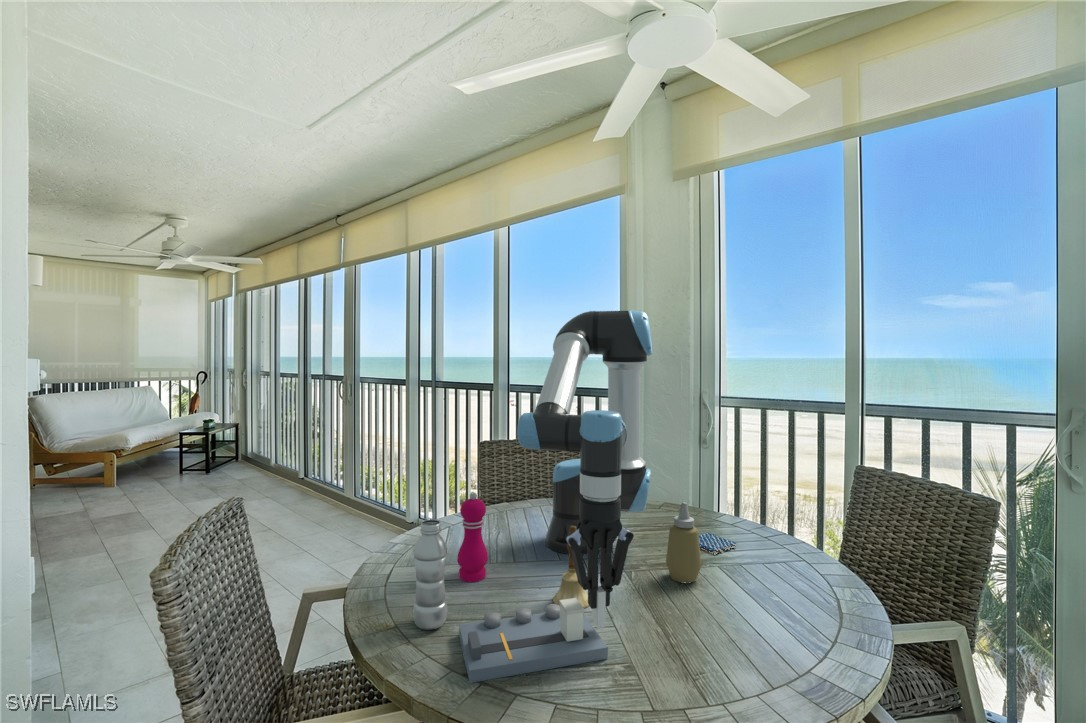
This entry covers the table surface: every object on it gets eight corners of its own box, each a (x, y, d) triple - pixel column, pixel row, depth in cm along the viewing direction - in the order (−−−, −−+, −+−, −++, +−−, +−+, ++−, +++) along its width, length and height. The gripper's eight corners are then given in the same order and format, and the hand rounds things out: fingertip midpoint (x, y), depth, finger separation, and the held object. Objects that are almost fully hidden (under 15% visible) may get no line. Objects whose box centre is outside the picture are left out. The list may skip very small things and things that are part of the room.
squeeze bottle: (707, 578, 118) (708, 503, 118) (691, 590, 112) (692, 510, 112) (675, 568, 123) (676, 496, 123) (659, 578, 117) (660, 503, 117)
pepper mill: (482, 584, 113) (483, 497, 113) (452, 581, 115) (453, 495, 114) (491, 571, 120) (492, 489, 120) (463, 568, 122) (464, 487, 122)
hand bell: (547, 594, 109) (548, 522, 109) (581, 589, 112) (582, 518, 112) (562, 613, 101) (562, 535, 101) (598, 606, 104) (599, 530, 104)
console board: (579, 617, 100) (579, 597, 100) (607, 658, 86) (608, 635, 86) (459, 635, 93) (459, 614, 93) (469, 683, 79) (469, 658, 79)
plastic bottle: (430, 638, 92) (431, 530, 91) (405, 627, 95) (405, 524, 95) (454, 622, 97) (455, 521, 97) (429, 612, 101) (430, 515, 100)
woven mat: (739, 549, 137) (739, 542, 137) (715, 558, 131) (715, 550, 131) (707, 537, 146) (707, 531, 146) (683, 545, 140) (683, 538, 140)
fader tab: (575, 626, 92) (575, 597, 92) (583, 639, 88) (583, 609, 88) (559, 629, 91) (559, 600, 91) (566, 642, 87) (566, 611, 87)
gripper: (623, 488, 96) (622, 609, 96) (559, 492, 92) (558, 618, 93) (642, 499, 89) (640, 629, 89) (573, 504, 85) (572, 640, 85)
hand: (598, 623), depth 91 cm, fingers closed
